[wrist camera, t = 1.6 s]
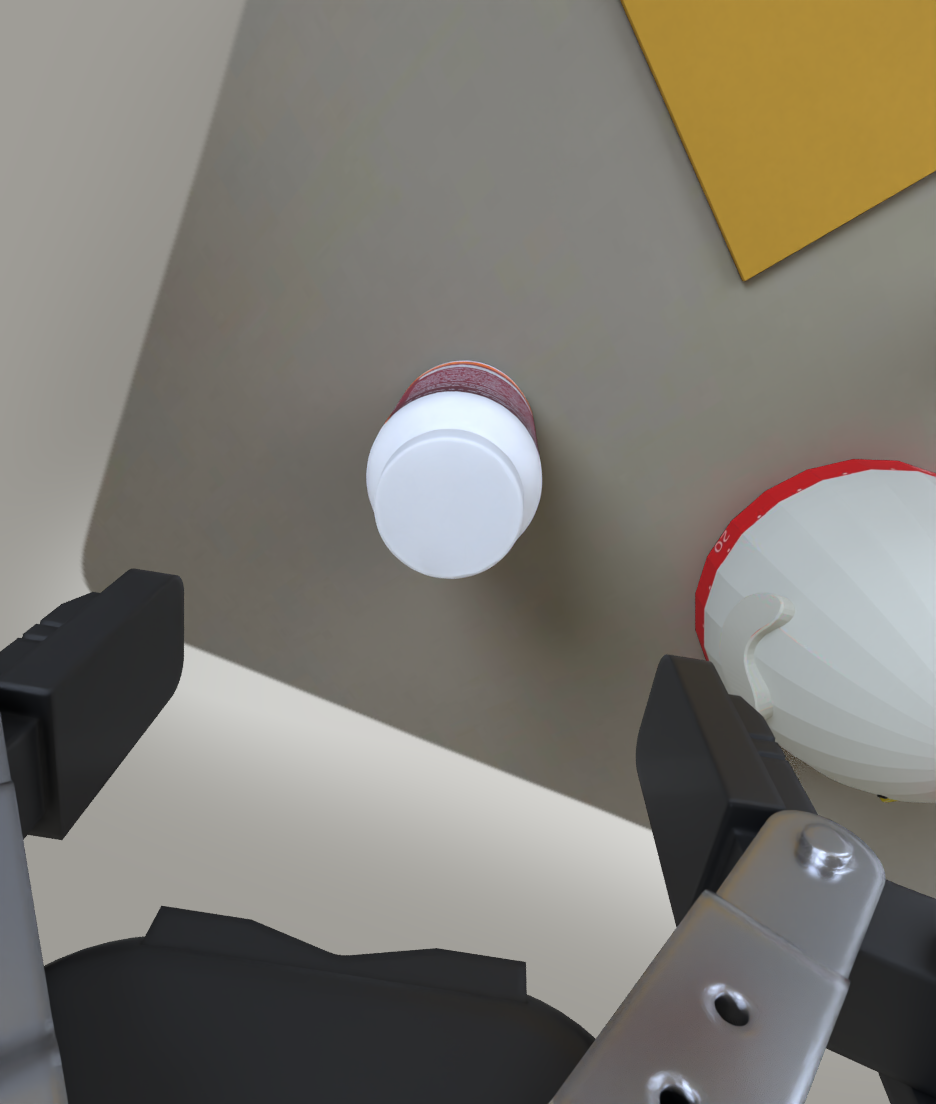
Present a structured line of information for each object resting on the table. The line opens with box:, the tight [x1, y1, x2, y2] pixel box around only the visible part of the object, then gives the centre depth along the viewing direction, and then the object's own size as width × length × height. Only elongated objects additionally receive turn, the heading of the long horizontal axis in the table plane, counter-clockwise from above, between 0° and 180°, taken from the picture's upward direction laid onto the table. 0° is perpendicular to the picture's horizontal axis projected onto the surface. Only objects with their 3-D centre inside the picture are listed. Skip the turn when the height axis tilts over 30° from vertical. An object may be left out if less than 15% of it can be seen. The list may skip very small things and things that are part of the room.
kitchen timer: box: [695, 459, 936, 803], centre depth 28 cm, size 14×14×15 cm
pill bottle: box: [366, 361, 542, 579], centre depth 28 cm, size 6×6×11 cm
